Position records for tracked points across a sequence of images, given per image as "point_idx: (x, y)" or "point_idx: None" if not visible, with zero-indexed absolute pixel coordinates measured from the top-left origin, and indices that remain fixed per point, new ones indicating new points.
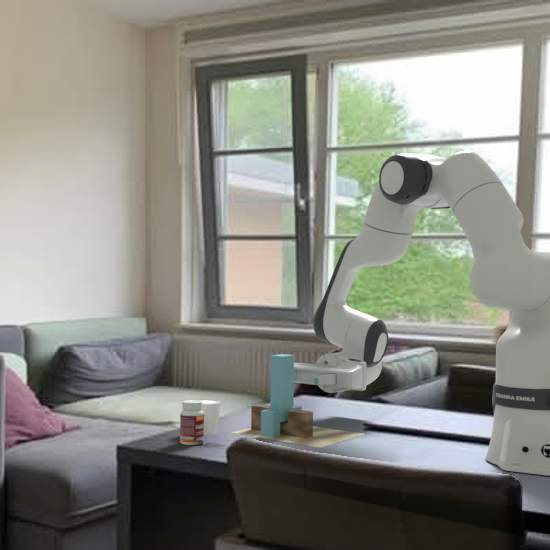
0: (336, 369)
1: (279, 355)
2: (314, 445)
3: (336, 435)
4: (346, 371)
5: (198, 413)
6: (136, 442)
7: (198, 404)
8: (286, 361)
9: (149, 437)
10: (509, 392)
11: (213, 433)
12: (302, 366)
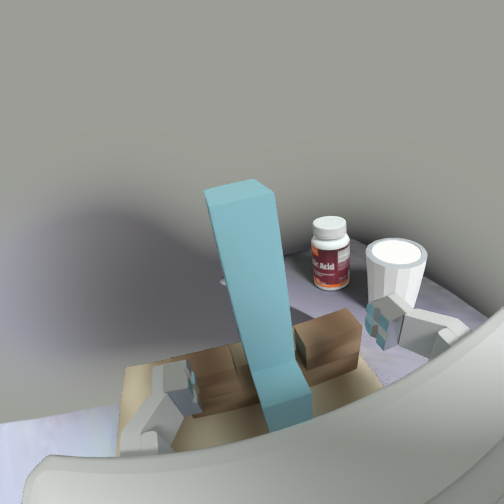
0: (136, 501)
1: (235, 187)
2: (140, 370)
3: None
4: (50, 460)
5: (312, 240)
6: (360, 245)
7: (313, 227)
8: (209, 214)
9: None
10: None
11: None
12: (431, 384)
